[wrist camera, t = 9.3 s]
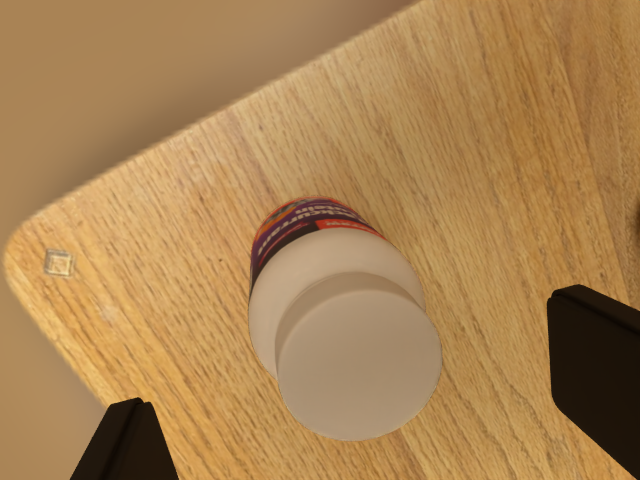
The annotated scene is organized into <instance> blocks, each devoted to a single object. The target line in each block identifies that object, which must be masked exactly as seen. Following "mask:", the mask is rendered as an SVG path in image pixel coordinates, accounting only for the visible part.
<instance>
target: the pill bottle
mask: <svg viewBox="0 0 640 480" xmlns="http://www.w3.org/2000/svg"><path fill="white" fill-rule="evenodd" d="M248 326H249V334H250V339H251V342H252V345H253V348H254V351H255V353H256V355H257V357H258V359H259V360H260V362H261V363H262V365H263V366H264V368H265V369H266V370H267V372H268V373H269V374H270V375H271V376H272V377H273V378H274V379H276V380H277V381H278V386H279V390H280V393H281V396H282V399H283V401H284V403H285V405H286V407H287V408H288V410H289V411H290V413H291V414H292V415H293V417H294V418H295V419H296V420H297V421H298V422H299V423H300V424H302V425H303V426H304V427H306V428H307V429H309V430H311V431H312V432H314V433H316V434H318V435H321V436H323V437H327V438H331V439H335V440H340V441H364V440H370V439H374V438H377V437H381V436H384V435H386V434H389V433H391V432H393V431H395V430H397V429H398V428H400V427H402V426H403V425H405V424H406V423H408V422H409V421H410V420H411V419H413V418H414V417H415V416H416V415H417V414H418V413H419V412H420V411H421V410H422V409H423V408H424V406H425V405H426V404H427V402H428V401H429V399H430V398H431V396H432V394H433V393H434V391H435V389H436V386H437V384H438V381H439V378H440V374H441V369H442V360H443V357H442V345H441V341H440V338H439V335H438V332H437V330H436V327H435V325H434V324H433V322H432V321H431V319H430V318H429V317H428V315H427V314H426V304H425V296H424V292H423V288H422V285H421V282H420V280H419V278H418V275H417V273H416V271H415V270H414V268H413V267H412V265H411V264H410V262H409V261H408V260H407V259H406V257H405V256H404V255H403V254H402V253H401V252H400V251H399V250H398V249H397V248H396V247H395V246H394V245H392V244H391V243H390V242H389V241H388V240H386V239H385V238H384V237H383V236H382V235H381V234H379V233H378V232H377V231H376V230H375V229H374V228H372V227H371V226H370V225H369V224H368V223H367V222H366V221H365V220H364V219H363V218H361V217H360V216H359V215H358V214H357V213H356V212H355V211H354V210H352V209H351V208H350V207H348V206H347V205H345V204H343V203H342V202H340V201H337V200H335V199H332V198H329V197H324V196H303V197H298V198H295V199H292V200H290V201H287V202H285V203H283V204H282V205H280V206H278V207H277V208H275V209H274V210H273V211H272V212H271V213H270V214H269V215H268V216H267V217H266V218H265V219H264V220H263V222H262V223H261V225H260V226H259V228H258V230H257V232H256V235H255V237H254V241H253V245H252V250H251V266H250V287H249V304H248Z"/></svg>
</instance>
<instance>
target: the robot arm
mask: <svg viewBox="0 0 640 480" xmlns="http://www.w3.org/2000/svg"><path fill="white" fill-rule="evenodd" d="M547 320H548V338H549V356H550V375H551V393H552V398H553V401H554V403H555V405H556V406H557V408H558V409H559V410H560V411H561V412H562V413H563V414H564V415H566V416H567V417H568V418H569V419H570V420H571V421H572V422H573V423H574V424H576V425H577V426H578V427H579V428H580V429H581V430H582V431H583V432H584V433H586V434H587V435H588V436H589V437H590V438H591V439H592V440H593V441H594V442H596V443H597V444H598V445H599V446H600V447H601V448H602V449H603V450H604V451H606V452H607V453H608V454H609V455H610V456H611V457H612V458H613V459H614V460H616V461H617V462H618V463H619V464H620V465H621V466H622V467H623V468H624V469H626V470H627V471H628V472H629V473H630V474H631V475H632V476H633V477H634V478H636V479H637V480H640V311H638V310H636V309H634V308H632V307H630V306H627V305H625V304H623V303H621V302H619V301H617V300H614V299H612V298H610V297H608V296H606V295H603V294H601V293H599V292H597V291H595V290H592V289H590V288H588V287H586V286H584V285H580V284H578V285H573V286H569V287H565V288H561V289H557V290H555V291H554V292H553V293H552V295H551V298H549V299H548V301H547ZM70 480H179V478H178V475H177V472H176V469H175V467H174V464H173V461H172V458H171V455H170V452H169V450H168V447H167V444H166V441H165V438H164V435H163V433H162V430H161V427H160V424H159V421H158V418H157V416H156V413H155V410H154V407H153V405H152V404H151V402H145V403H144V402H143V400H142V399H141V398H139V397H137V398H133V399H130V400H126V401H122V402H118V403H114V404H111V405H110V406H109V407H108V409H107V411H106V413H105V415H104V417H103V419H102V421H101V422H100V424H99V426H98V428H97V430H96V432H95V433H94V436H93V437H92V439H91V441H90V443H89V445H88V447H87V448H86V450H85V453H84V454H83V456H82V458H81V460H80V461H79V463H78V465H77V467H76V469H75V471H74V473H73V475H72V476H71V478H70Z"/></svg>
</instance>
